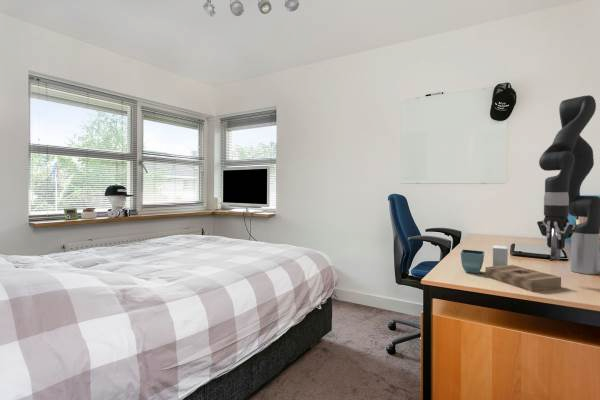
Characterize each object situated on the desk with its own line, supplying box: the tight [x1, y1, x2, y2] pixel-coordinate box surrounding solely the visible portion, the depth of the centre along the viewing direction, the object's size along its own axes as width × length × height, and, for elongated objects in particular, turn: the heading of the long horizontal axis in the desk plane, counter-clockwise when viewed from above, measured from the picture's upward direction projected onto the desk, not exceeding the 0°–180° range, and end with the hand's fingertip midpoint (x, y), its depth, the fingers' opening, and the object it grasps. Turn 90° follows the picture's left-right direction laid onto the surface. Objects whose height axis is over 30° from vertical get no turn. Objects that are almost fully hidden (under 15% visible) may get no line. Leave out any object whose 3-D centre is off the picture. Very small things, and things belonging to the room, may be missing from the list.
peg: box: [550, 228, 562, 260], centre depth 124 cm, size 3×3×12 cm
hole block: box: [484, 264, 562, 292], centre depth 125 cm, size 20×14×4 cm
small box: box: [492, 245, 509, 267], centre depth 144 cm, size 8×6×10 cm
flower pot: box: [460, 248, 485, 274], centre depth 141 cm, size 9×9×9 cm
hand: (555, 248), depth 124 cm, fingers closed on peg, 3 cm apart
